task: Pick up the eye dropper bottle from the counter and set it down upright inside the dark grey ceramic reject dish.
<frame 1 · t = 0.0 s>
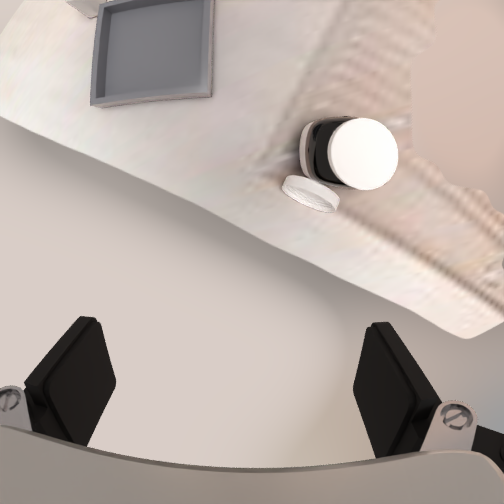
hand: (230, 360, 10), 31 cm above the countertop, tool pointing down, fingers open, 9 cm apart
eye dropper bottle: (97, 3, 30), on the countertop
spread jar: (326, 165, 39), on the countertop
reject dish: (155, 48, 33), on the countertop
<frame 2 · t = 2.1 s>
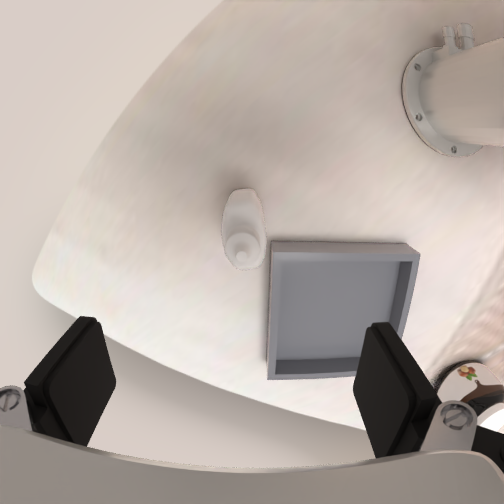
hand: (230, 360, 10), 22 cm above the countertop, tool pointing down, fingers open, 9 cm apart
eye dropper bottle: (246, 215, 32), on the countertop
spread jar: (448, 387, 40), on the countertop
reject dish: (335, 306, 34), on the countertop
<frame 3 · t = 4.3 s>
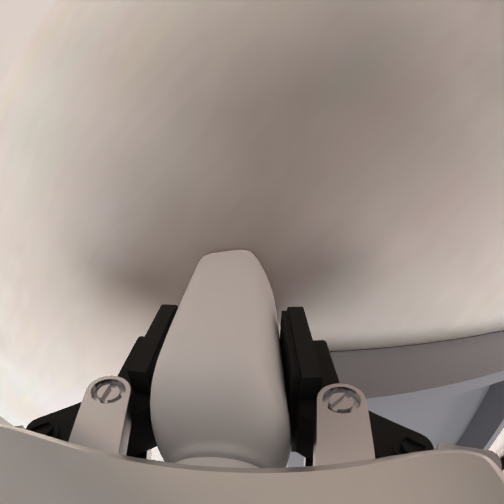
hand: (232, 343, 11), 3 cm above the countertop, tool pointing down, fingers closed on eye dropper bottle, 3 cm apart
eye dropper bottle: (236, 305, 14), on the countertop, touching gripper
reject dish: (391, 432, 17), on the countertop
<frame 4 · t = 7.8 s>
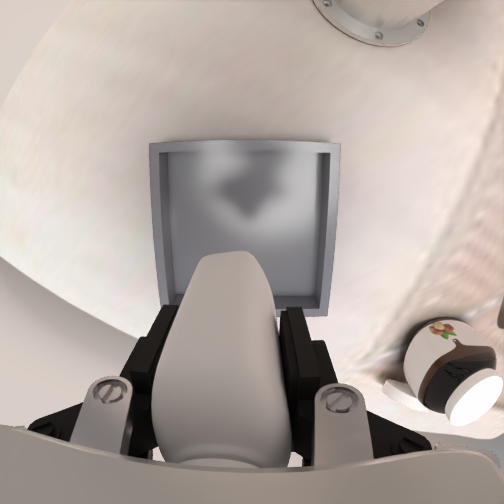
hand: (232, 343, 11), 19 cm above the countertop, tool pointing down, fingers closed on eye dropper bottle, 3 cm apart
eye dropper bottle: (235, 306, 14), point 16 cm above the countertop, touching gripper
spread jar: (421, 354, 34), on the countertop
reject dish: (244, 224, 29), on the countertop
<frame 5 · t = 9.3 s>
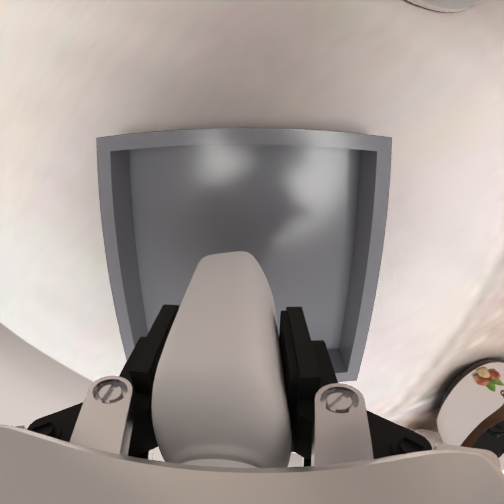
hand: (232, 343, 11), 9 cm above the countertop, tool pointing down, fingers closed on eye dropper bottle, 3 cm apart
eye dropper bottle: (235, 306, 14), point 6 cm above the countertop, touching gripper
spread jar: (456, 399, 25), on the countertop
reject dish: (243, 254, 20), on the countertop
when the fingers open (5 cm above the countertop, at t = 10.9 s): eye dropper bottle drops 1 cm, resting on reject dish.
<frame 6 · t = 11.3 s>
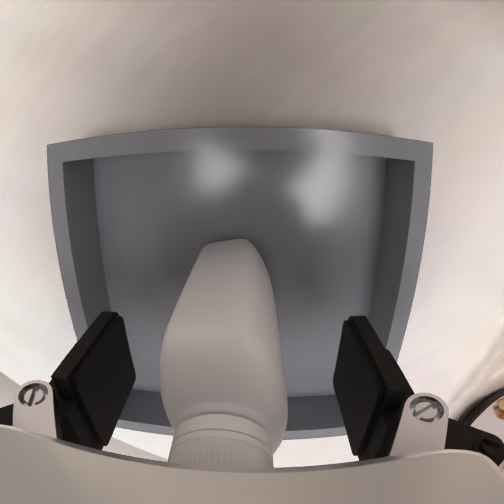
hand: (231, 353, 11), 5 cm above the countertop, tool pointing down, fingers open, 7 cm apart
eye dropper bottle: (236, 292, 15), point 1 cm above the countertop, touching reject dish
spread jar: (472, 429, 21), on the countertop
reject dish: (238, 288, 16), on the countertop
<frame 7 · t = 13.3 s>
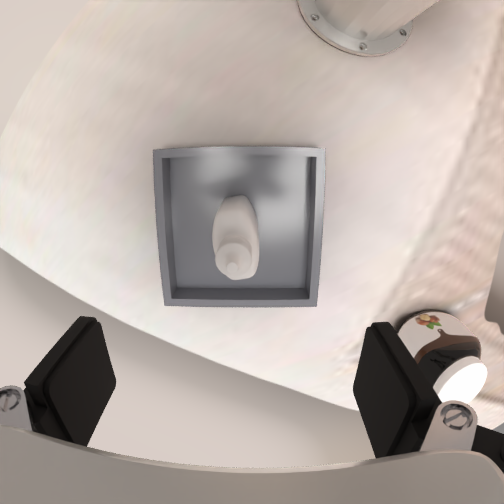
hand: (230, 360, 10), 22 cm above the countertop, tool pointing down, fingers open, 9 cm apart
eye dropper bottle: (239, 223, 31), point 1 cm above the countertop, touching reject dish
spread jar: (410, 345, 37), on the countertop
reject dish: (240, 222, 32), on the countertop
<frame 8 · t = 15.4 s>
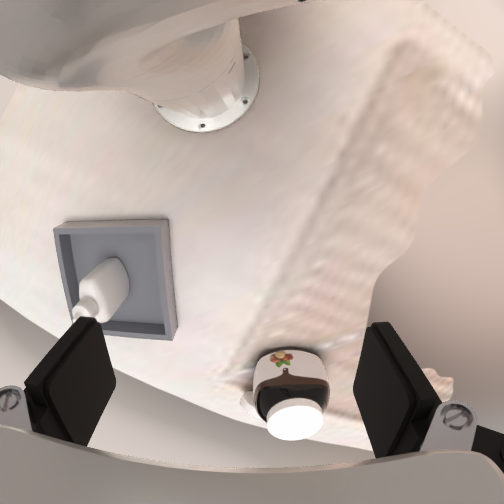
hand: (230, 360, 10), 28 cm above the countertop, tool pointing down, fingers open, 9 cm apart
eye dropper bottle: (117, 276, 39), point 1 cm above the countertop, touching reject dish
spread jar: (280, 374, 45), on the countertop
reject dish: (119, 275, 40), on the countertop
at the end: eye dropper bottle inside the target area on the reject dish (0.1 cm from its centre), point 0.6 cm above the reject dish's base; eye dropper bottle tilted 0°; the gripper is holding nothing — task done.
